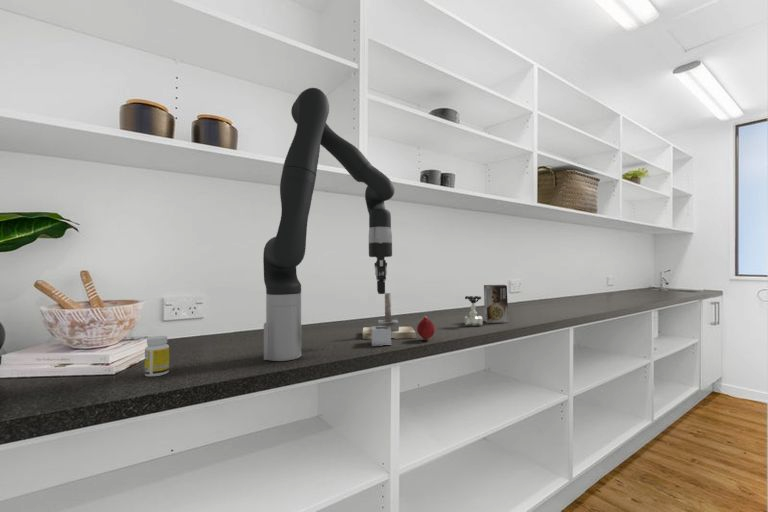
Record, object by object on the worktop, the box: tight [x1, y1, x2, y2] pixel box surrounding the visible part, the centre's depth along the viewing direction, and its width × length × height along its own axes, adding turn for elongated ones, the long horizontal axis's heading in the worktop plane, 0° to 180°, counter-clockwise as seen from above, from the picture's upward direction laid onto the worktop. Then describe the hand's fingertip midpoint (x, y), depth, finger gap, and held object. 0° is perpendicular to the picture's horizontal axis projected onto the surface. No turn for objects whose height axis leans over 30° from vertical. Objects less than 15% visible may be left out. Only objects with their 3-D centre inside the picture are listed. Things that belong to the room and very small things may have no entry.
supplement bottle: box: [144, 335, 170, 378], centre depth 82 cm, size 5×5×8 cm
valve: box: [464, 295, 484, 327], centre depth 145 cm, size 7×7×12 cm
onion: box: [416, 315, 436, 341], centre depth 117 cm, size 6×6×8 cm
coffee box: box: [483, 284, 509, 324], centre depth 156 cm, size 9×6×16 cm
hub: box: [371, 325, 392, 347], centre depth 112 cm, size 6×6×5 cm
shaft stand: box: [362, 292, 417, 340], centre depth 127 cm, size 18×12×15 cm, turn 93°
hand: (381, 292), depth 113 cm, fingers open, 8 cm apart
